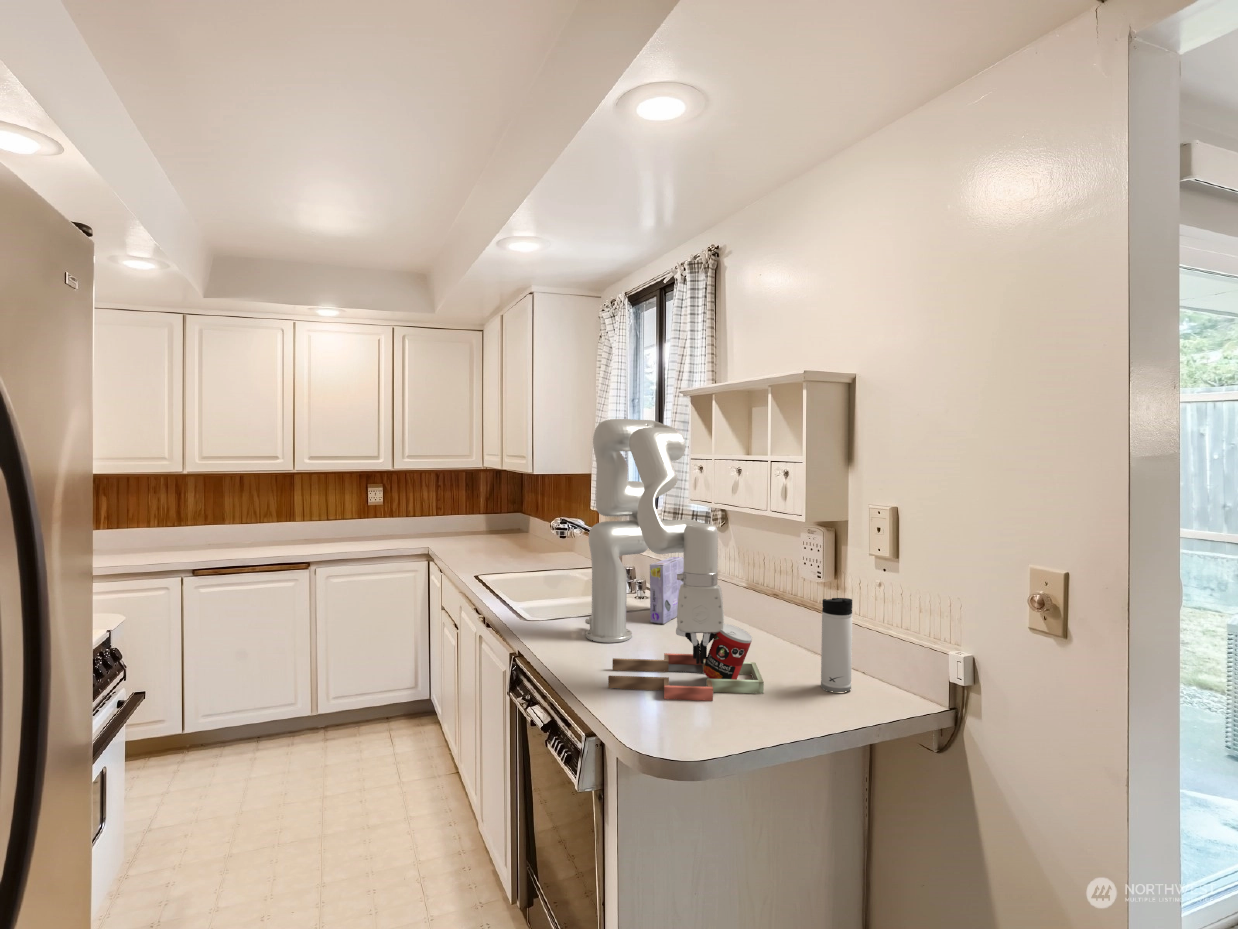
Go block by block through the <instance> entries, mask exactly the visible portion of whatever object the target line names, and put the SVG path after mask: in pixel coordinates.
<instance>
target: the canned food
mask: <svg viewBox="0 0 1238 929" xmlns="http://www.w3.org/2000/svg"><path fill="white" fill-rule="evenodd" d="M752 640H753V637H752V635H751V634H750V633H749V632H748V631H746V630H744V629H743V628H741V627H739V626H736V625H733V624H729V623H724V627H723V630H722V629H721V630H720V632H719V633H716V634H715V637H714V639H713V640H712V641H711V642H712V643H711V645H710V648H709V651H708V653H707V659H706V661H705V664H704V667H703V672H704V673H703V674H704V675H705V676H706V677H707V679H737V680H738V678H739V675H740V674H739V673H740V670H741V667H742V665H743V662H745V660H746V657H747V655H748V652H749V650H750V646H751V644H752Z"/></svg>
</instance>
